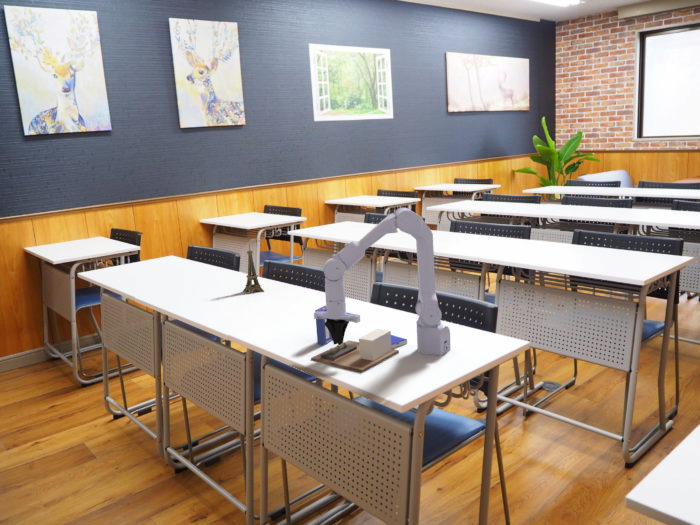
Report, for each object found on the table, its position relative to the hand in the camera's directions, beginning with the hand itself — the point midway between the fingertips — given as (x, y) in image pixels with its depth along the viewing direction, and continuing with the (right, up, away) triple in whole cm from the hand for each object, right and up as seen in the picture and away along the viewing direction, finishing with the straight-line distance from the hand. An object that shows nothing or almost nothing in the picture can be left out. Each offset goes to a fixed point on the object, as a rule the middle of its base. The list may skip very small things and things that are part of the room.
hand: (338, 343), depth 170 cm
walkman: (-4, -2, +14) cm, 15 cm away
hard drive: (+10, 0, +15) cm, 18 cm away
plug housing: (+11, -3, -2) cm, 12 cm away
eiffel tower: (-38, +8, +80) cm, 89 cm away
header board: (+5, -4, 0) cm, 6 cm away
